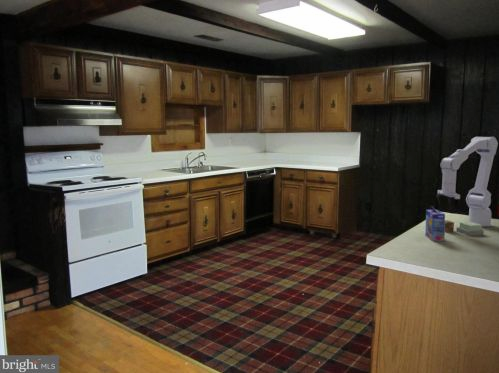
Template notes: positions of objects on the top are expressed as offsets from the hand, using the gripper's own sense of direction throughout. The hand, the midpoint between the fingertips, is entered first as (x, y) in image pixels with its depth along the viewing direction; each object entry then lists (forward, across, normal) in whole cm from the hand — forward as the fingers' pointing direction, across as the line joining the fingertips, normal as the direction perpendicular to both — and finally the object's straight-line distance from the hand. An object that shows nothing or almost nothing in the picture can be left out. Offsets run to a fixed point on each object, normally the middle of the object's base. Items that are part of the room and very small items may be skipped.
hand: (447, 211), depth 195 cm
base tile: (+10, +6, +8) cm, 14 cm away
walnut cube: (+10, 0, 0) cm, 10 cm away
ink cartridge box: (+10, +11, -13) cm, 20 cm away
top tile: (+8, +6, +8) cm, 13 cm away
